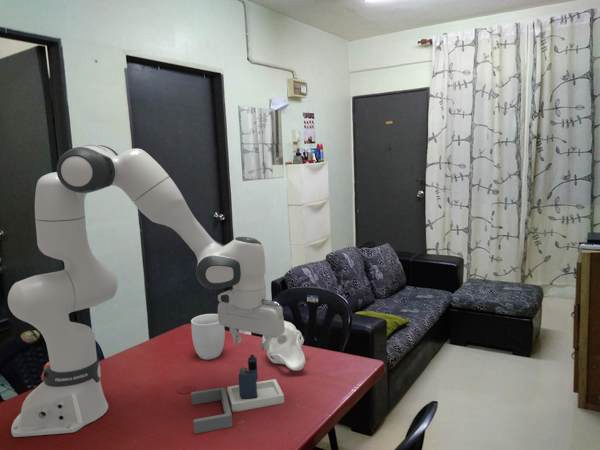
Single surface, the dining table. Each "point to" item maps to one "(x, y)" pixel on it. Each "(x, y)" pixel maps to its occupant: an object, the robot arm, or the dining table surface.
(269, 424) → the dining table surface
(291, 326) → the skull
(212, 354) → the mug
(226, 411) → the bay
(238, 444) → the dining table surface
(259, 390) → the tray
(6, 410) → the dining table surface
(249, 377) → the vaping device
